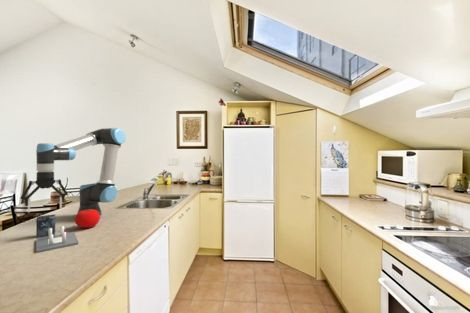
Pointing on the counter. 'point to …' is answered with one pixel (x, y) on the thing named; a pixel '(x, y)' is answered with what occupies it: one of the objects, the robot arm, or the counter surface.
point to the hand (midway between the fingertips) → (45, 209)
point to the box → (45, 225)
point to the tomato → (87, 218)
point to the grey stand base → (56, 240)
